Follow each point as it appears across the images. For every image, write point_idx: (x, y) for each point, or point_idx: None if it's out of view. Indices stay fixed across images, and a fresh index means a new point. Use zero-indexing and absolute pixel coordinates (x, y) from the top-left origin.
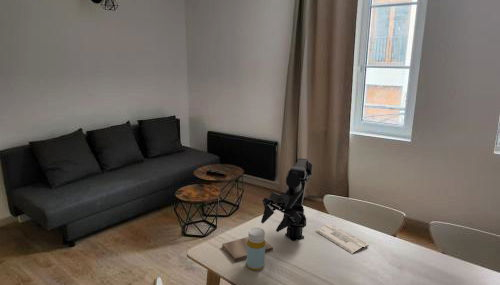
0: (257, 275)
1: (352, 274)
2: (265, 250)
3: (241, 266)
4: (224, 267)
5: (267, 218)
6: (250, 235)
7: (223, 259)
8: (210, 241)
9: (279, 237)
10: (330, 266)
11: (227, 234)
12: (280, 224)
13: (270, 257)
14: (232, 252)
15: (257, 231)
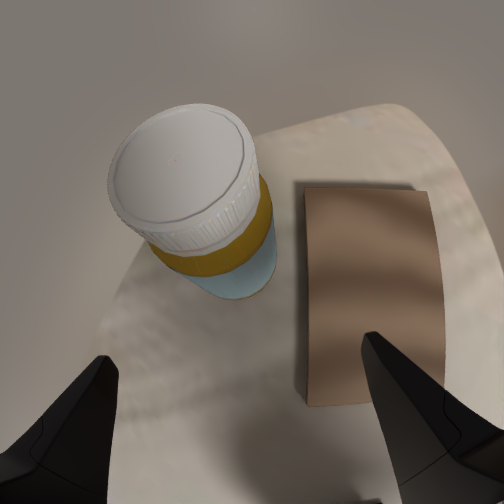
0: None
1: None
2: (308, 360)
3: None
4: (286, 150)
5: (385, 426)
6: (176, 114)
7: (337, 165)
8: (460, 179)
9: (381, 476)
10: None
11: (491, 260)
12: (59, 408)
13: (258, 360)
14: (353, 197)
15: (175, 169)
